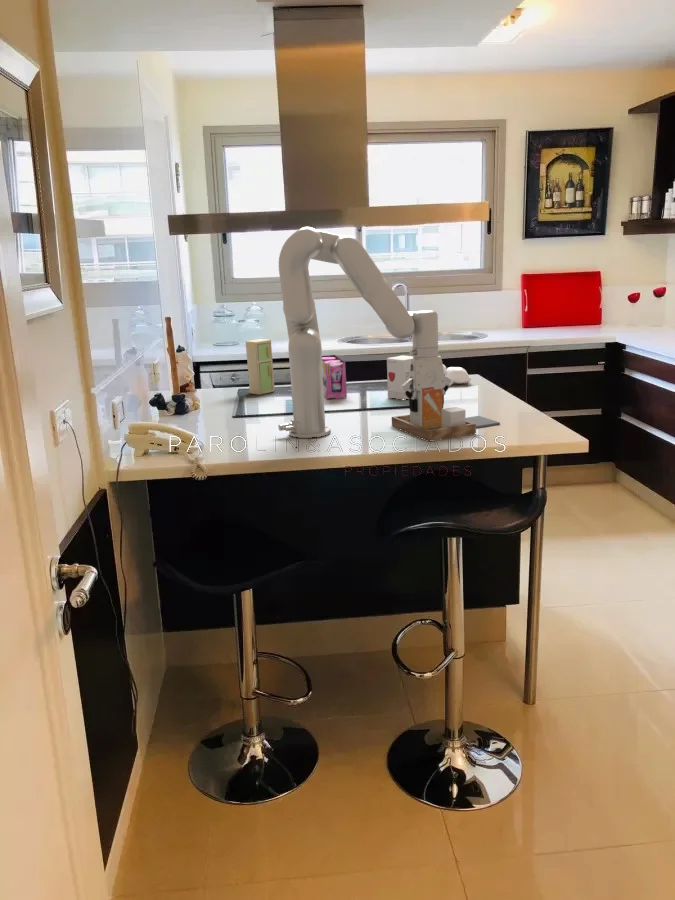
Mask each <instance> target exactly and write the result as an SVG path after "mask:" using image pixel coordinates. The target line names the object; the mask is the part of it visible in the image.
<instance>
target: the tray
mask: <svg viewBox="0 0 675 900" xmlns="http://www.w3.org/2000/svg"><path fill="white" fill-rule="evenodd" d="M392 426H393V427H392ZM391 427H392V428H395V429H397V428H398V429H397V430H399V429H401V430H400V431H402V430H403V431H402V432H404V431H406V432H405V433H407V432H408V433H407V434H409V433H411V434H413V435H412V436H414V435H415V436H414V437H416V436H418V437H417V438H419V437H420V438H419V439H421V438H423V439H425V440H424V441H426V440H428V441H430V440H436V441H441V440H440V439H442V440H446V439H447V438H448V439H452V437H454V438H459V437H458V436H460V437H465V436H464V435H466V436H471V435H470V434H472V435H476V434H477V428H476V424H475V423H472V422H469V421H466V420H465V425H459V426H453V427H447V428H442V427H440V428H433V429H425V428H423V427H420V426H418V425H415V424H412V423H410V413H409V414H402V415H396V416H391ZM475 433H476V434H475ZM411 434H410V435H411ZM423 439H422V440H423ZM428 441H427V442H428ZM430 442H431V441H430Z"/></svg>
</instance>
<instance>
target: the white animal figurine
mask: <svg viewBox="0 0 675 900" xmlns="http://www.w3.org/2000/svg"><path fill="white" fill-rule="evenodd" d="M443 369H444V376H446V377H447V378H449V379H451V383H450V385H449V387H450V386H451V385H452V384H456V385H461V384H466V383H468V384H467V385H468V386H470V383H471V381H472V378H471V377H470V375H469V374H468V372H467V370H466V369H465V368H463V367H460V366H450V367H447V366H446V365H445V364H443Z"/></svg>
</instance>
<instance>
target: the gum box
mask: <svg viewBox="0 0 675 900" xmlns="http://www.w3.org/2000/svg"><path fill="white" fill-rule="evenodd" d="M346 373H347V372H346V362H345V361H344V360H343V359H341V358H340V357H338V356H337V355H336V354H329V355H322V375H323V393H324V395H325V396H324V398H325V399H326V400H330V399H329V398H336V399H344V398H343V397H348V395H347V393H348V392H347V374H346Z"/></svg>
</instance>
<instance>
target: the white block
mask: <svg viewBox="0 0 675 900" xmlns="http://www.w3.org/2000/svg"><path fill="white" fill-rule="evenodd" d="M465 418H466V409H465V408H464V409H463V408H460V407H457V406H455V407H454V406H453V407H446V408H443V409H442V427H441V428H447V427H453V426H459V425H465Z"/></svg>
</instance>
